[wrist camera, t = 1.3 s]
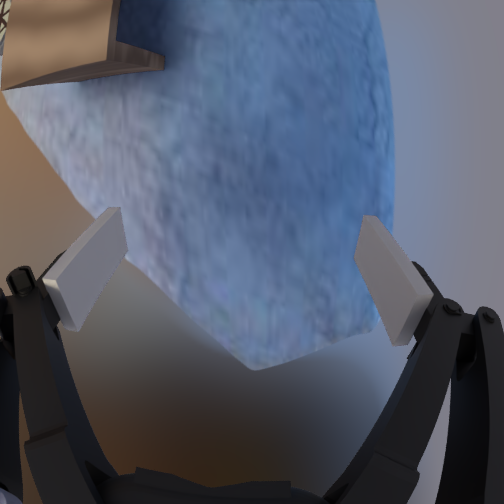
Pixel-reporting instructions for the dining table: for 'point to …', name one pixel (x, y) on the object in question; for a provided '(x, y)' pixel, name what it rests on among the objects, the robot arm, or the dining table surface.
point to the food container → (3, 21)
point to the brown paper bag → (67, 43)
